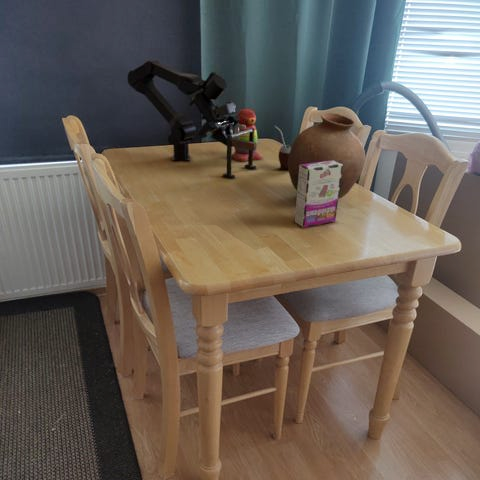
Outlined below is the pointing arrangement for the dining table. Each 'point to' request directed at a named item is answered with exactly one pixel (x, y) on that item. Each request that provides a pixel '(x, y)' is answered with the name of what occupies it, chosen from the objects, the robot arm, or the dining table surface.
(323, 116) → the pottery
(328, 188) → the candy bar box
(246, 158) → the stacking bear
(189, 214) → the dining table surface
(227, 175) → the clothes rail
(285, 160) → the mate gourd
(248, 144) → the hanger
